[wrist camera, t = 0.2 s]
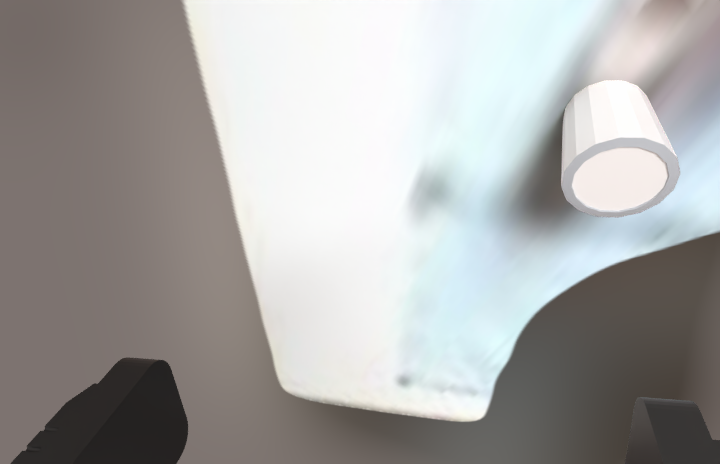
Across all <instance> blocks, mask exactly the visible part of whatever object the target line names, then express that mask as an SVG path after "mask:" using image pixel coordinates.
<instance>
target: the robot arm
mask: <svg viewBox="0 0 720 464" xmlns="http://www.w3.org/2000/svg"><path fill="white" fill-rule="evenodd" d="M187 435H188V421H187V417H186V414H185V411H184V408H183V405H182V402H181V399H180V396H179V392H178V389H177V386H176V383H175V380H174V377H173V374H172V370H171V368H170V366H169V364H168V363H167V362H166V361H164V360H154V359H140V358H123V359H121V360H120V361H118V362H117V363H116V364H115V365H114V366H113V367H112V369H111V370H110V371H109V372H108V373H107V374H106V375H105V377H104V378H103V379H102V380H101V381H100V382H99V383H98V384H93V385H92V386H90V387H88V388H87V389H86V390H84V391H83V392H81V393H80V394H78V395H77V396H75V397H74V398H72V399H71V400H70V401H68V402H67V403H66V404H65V405H64V406H63V407H62V408H61V409H60V410H59V411H58V412H57V414H56V415H55V416H54V417H53V418H52V419H51V420H50V421H49V422H48V423H47V424H46V426H45V430H44V431H40V432H39V433H38V434H37V435H36V436H35V438H34V439H33V440H32V441H31V442H30V443H29V444H28V445H27V450H26V451H22V452H21V453H20V454H19V455H18V456H17V457H16V458H15V459H14V460H13V462H12V463H11V464H176V463H177V461H178V460H179V458H180V456H181V455H182V453H183V450H184V448H185V445H186V441H187ZM625 464H720V440H712V438H711V436H710V434H709V431H708V429H707V426H706V424H705V422H704V419H703V417H702V414H701V412H700V410H699V408H698V406H697V405H696V404H695V403H694V402H692V401H683V400H669V399H656V398H643V397H639V398H637V400H636V403H635V407H634V412H633V418H632V424H631V431H630V437H629V442H628V448H627V454H626V460H625Z"/></svg>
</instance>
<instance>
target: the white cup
mask: <svg viewBox="0 0 720 464" xmlns="http://www.w3.org/2000/svg"><path fill="white" fill-rule="evenodd" d="M679 176H680V168H679V163H678V158H677V156H676V154H675V152H674V150H673V148H672V146H671V144H670V142H669V140H668V138H667V136H666V134H665V132H664V130H663V128H662V126H661V124H660V122H659V120H658V118H657V116H656V114H655V112H654V110H653V108H652V106H651V104H650V102H649V100H648V98H647V96H646V94H645V93H644V92H643V91H642V90H641V89H640V88H639V87H638V86H637V85H634V84H631V83H628V82H626V81H623V80H605V81H602V82H599V83H595V84H592V85H589V86H587V87H586V88H584V89H583V90H581V91H580V92H578V93H577V94H576V95H574V96H573V98H572V99H571V100H570V102H569V103H568V105H567V106H566V108H565V112H564V118H563V138H562V175H561V187H562V190H563V192H564V195H565V198H566V200H567V201H568V202H569V203H570V204H572V205H573V206H574V207H575V208H576V209H578V210H579V211H581V212H584V213H587V214H591V215H594V216H597V217H622V216H627V215H632V214H637V213H641V212H643V211H645V210H647V209H649V208H651V207H653V206H655V205H657V204H659V203H660V202H661V201H662V200H663V199H664V198H665V197H666V196H667V195H669V194H670V193H671V192H672V191H673V190H674V188H675V185H676V183H677V181H678V178H679Z"/></svg>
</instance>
